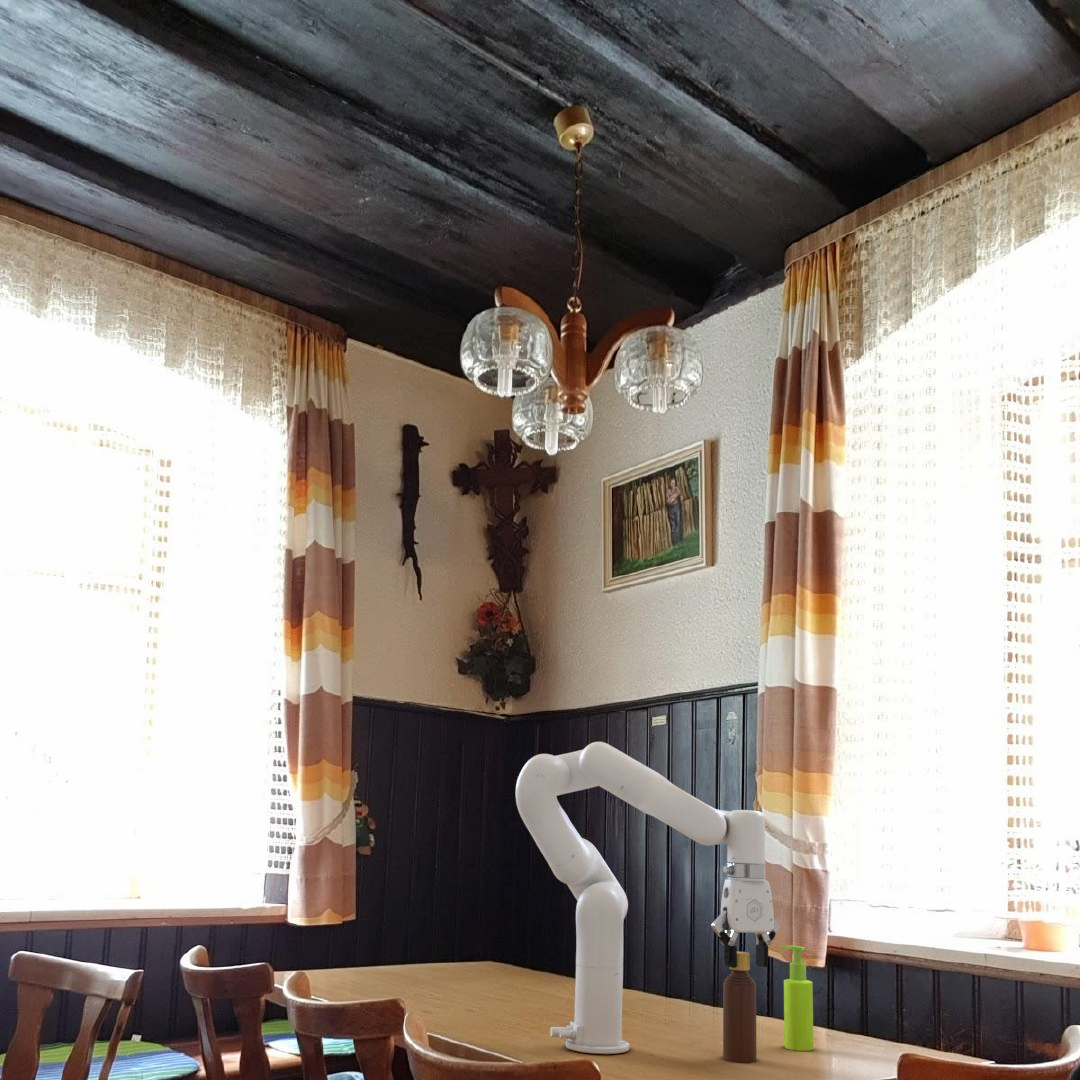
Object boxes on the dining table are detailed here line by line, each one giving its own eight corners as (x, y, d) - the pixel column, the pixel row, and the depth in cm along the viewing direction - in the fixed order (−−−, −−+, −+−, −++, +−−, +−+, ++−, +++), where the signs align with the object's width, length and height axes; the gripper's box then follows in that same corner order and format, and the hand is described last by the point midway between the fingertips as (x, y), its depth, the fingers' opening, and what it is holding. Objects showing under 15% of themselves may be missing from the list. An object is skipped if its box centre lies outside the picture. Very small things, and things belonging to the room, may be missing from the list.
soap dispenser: (788, 1043, 248) (787, 943, 252) (818, 1048, 243) (816, 946, 248) (774, 1047, 243) (773, 945, 248) (805, 1052, 239) (803, 948, 244)
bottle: (730, 1062, 225) (730, 957, 229) (718, 1056, 231) (718, 954, 235) (761, 1062, 226) (761, 958, 231) (748, 1056, 232) (748, 954, 237)
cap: (725, 968, 233) (725, 951, 234) (741, 967, 235) (741, 951, 236) (737, 970, 230) (738, 953, 230) (753, 970, 232) (753, 953, 232)
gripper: (720, 873, 230) (720, 969, 226) (792, 874, 237) (793, 968, 233) (699, 871, 236) (698, 964, 232) (770, 872, 244) (770, 963, 239)
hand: (746, 965), depth 233 cm, fingers open, 6 cm apart
